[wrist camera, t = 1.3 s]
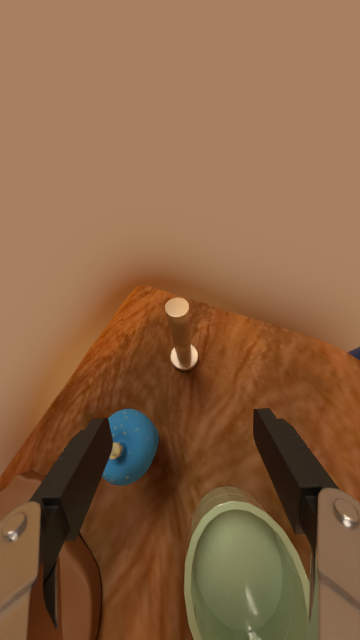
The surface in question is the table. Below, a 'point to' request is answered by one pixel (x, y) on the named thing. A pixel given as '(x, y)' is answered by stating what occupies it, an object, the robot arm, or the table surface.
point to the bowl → (242, 572)
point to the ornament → (130, 447)
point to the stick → (181, 334)
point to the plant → (64, 567)
